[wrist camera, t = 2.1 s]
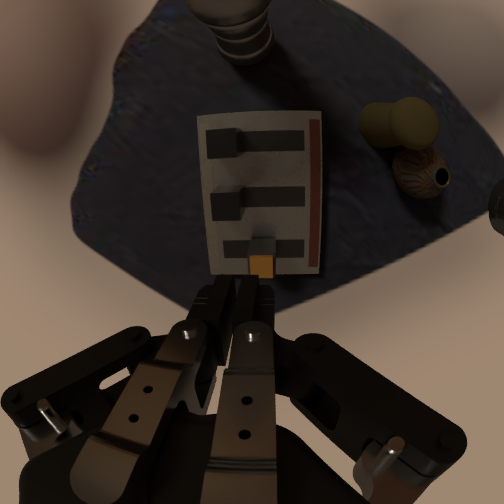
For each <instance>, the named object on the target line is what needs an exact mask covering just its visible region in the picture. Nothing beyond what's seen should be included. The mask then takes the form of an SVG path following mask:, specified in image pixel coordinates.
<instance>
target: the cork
mask: <svg viewBox="0 0 504 504" xmlns="http://www.w3.org/2000/svg"><path fill="white" fill-rule="evenodd" d="M359 129H360V132H361V134H362V136H363V137H364V139H365V140H366V141H367V142H368V143H369V144H371V145H372V146H374V147H377V148H391V147H395V146H400V145H403V146H404V147H407V148H409V149H412V150H423V149H425V148H428V147H430V146H431V145H432V144H433V143H435V141H436V139H437V137H438V133H439V120H438V117H437V115H436V113H435V111H434V110H433V108H432V107H431V106H430V105H429V104H428V103H427V102H426V101H424V100H421V99H419V98H416V97H407V98H403V99H400V100H399V101H397V102H396V103H383V102H374V103H371V104H368V105H367V106H366V107H364V108H363V110H362V112H361V113H360V117H359Z"/></svg>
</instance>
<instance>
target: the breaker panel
mask: <svg viewBox="0 0 504 504" xmlns="http://www.w3.org/2000/svg"><path fill="white" fill-rule="evenodd" d="M197 126H198V142H199V156H200V170H201V182H202V194H203V205H204V216H205V226H206V236H207V245H208V254H209V263H210V271H211V274H248V260H247V251H248V247H249V243H250V239H252V238H276V274H319V262H320V243H321V218H322V122H321V111H253V112H236V113H223V114H212V115H203V116H197Z"/></svg>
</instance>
